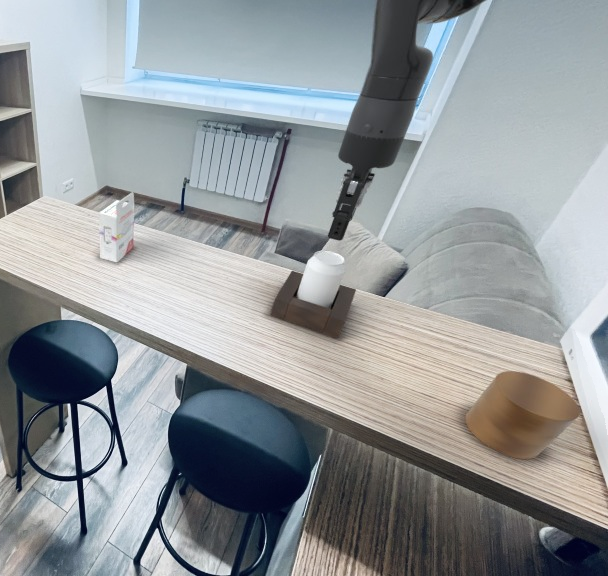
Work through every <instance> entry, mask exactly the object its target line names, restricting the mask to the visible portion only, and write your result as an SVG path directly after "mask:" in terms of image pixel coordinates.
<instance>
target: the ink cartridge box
mask: <svg viewBox="0 0 608 576" xmlns="http://www.w3.org/2000/svg"><path fill="white" fill-rule="evenodd" d="M98 228H99V229H98V231H99V258H100V259H102V260H105V261H109V262H112V263H113V262H114V263H119V262H120V261H121V260H122V259H123V258H124V257H125V256H126V255H127V254H128V253H129V252H130V251H131V250H132V249H133V248H134V236H135V235H134V232H135V231H134V230H135V193H134V191H131V192H130V193H129V194H128V195H125V196H124V197H123V198H121V200H118V199H116V200H115V201H114V202H112V203H111V204H109V205H108V206H106V207H105V208H103V210H101V211H99V212H98Z"/></svg>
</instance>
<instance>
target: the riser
mask: <svg viewBox="0 0 608 576" xmlns="http://www.w3.org/2000/svg"><path fill="white" fill-rule="evenodd" d="M580 415H581V409H580V407H579V404H578V403H577V402H576V400H575V399H574V398H573V397H572V396H571V395H570V394H568V393H567V392H566V391H565V390H563V389H562V388H561V387H559V386H557V385H556V384H554V383H552V382H550V381H548V380H546V379H543V378H541V377H539V376H536V375H534V374H530V373H526V372H523V371H516V370H506V371H502V372H499V373H497V375H496V376H495V377H494V379H493V380H492V381H491V382H490V383H489V385H487V387H486V389H485V390H484V391H483V393H482V394H481V395H480V396H479V397H478V399H477V400H476V401H475V402H474V404H473V405H472V406H471V408H469V410H468V411H467V412H466V414H465V417H464V420H465V421H464V422H465V424H466V426H467V428H468V430H469V431H470V432H471V433H472V434H473V436H474V437H475V438H477V439H478V440H479V441H480V442H481V443H483V444H484V445H486V446H487V447H489V448H490V449H492V450H494V451H496V452H498V453H500V454H502V455H505V456H508V457H511V458H514V459H520V460H532V459H535V458H537V457H538V456H539V455H541V453H542V452H544V451H545V450H546V448H548V447H549V446H550V445H551V444H552V443H553V442H554V441H555V440H557V438H558V437H559V436H560V435H561V434H563V432H564V431H565V430H567V428H569V426H571V425H572V424H573V423H574V422H575V421H576V420H577V419H578V418H579V417H580Z"/></svg>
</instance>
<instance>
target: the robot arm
mask: <svg viewBox="0 0 608 576" xmlns="http://www.w3.org/2000/svg"><path fill="white" fill-rule="evenodd" d="M486 1H487V0H375V2H374V5H373V6H374V7H373V16H372V30H371V31H372V32H371V46H370V61H369V66H368V69H367V71H366V74H365V77H364V80H363V83H362V87H361V89H360V93H359V95H358V98H357V100H356V102H355V104H354V107H353V108H352V111H351V115H350V117H349V121H348V124H347V126H346V129H345V132H344V135H343V139H342V142H341V145H340V147H339V151H338V154H337V156H338V159H339V160H340V161H341V162H343V163H345V164H348V165H350V166H351V168H347V169H346V172H345V173H344V174H343V177H342V179H341V183H340V185H341V186H340V188H339V191H338V193H337V196H336V206H335V208H334V211H333V212H332V214H331V215H332V216H331V217H332V218H333V220H332V222H331V225H330V229H329V231H328V233H327V238H328V239H331V240H335V241H339V242H340V241H342V240H344V237H345V235H346V232H347V229H348V226H349V224H350V222H351V221H352V220H353V218H354V216H355V212H356V210H357V208H359V207H360V206H361V205H362V203H363V200H364V197H365V195H366V194H367V193H368V190H369V189H370V188H371V186H372V184H373V182H374V181H373V180H374V178H375V176H376V173H375V172H373V169H375V168H376V169H385V168H389V167H391V166H393V164H394V163H395V162H396V159H397V157H398V155H399V152H400V150H401V147H402V144H403V142H404V140H405V137H406V135H407V133H408V130H409V127H410V125H411V122H412V120H413V118H414V114H415V111H416V106H417V103H418V100H419V97H420V95H421V92H422V89H423V87H424V85H425V83H426V80H427V77H428V74H429V72H430V70H431V67H432V65H433V64H432V63H433V61H434V54H433V51H432V50H431V49H429V48H427V47H425V46H421V45H418V44H417V32H418V31H417V30H418V26H419V25H433V24H434V25H435V24H440V23H445V22H447V21H451V20H453V19H456V18H458V17H460V16H463V15H465V14H467V13H468V12H470V11H472V10H474V9H475V8H477V7H478V6H480V5H482V4H483V3H485V2H486Z"/></svg>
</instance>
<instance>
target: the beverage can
mask: <svg viewBox="0 0 608 576" xmlns="http://www.w3.org/2000/svg"><path fill="white" fill-rule="evenodd" d="M345 261H346V259H345V257H344V256H342V255H341V254H339V253H337V252H334V251H331V250H318V251H316V252H315V253H313V255H312V256H311V257H310V258H309V259H308V260H307V262H306V266H305V267H304V271H303V273H302V274H303V277H302V280H301V283H300V286H299V289H298V292H297V296H296V298H298V299H301V300H304V301H307V302H310V303H314V304H317V305H320V306H323V307H326V308H329V309H332V307H331V306H332V303H333V301H334V298H335V296H336V293H337V291H338V288H339V286H340V285H341V283H342V281H343V278H344V276H345V274H346V271H347V269H346V266H345Z"/></svg>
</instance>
